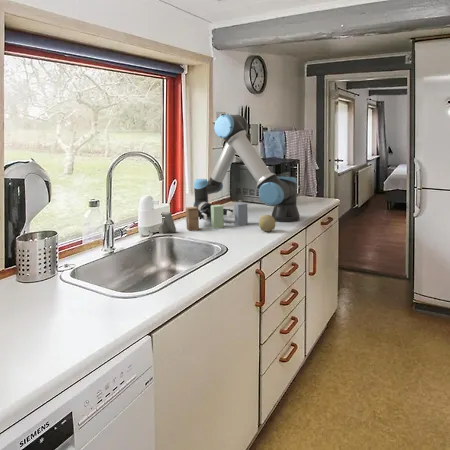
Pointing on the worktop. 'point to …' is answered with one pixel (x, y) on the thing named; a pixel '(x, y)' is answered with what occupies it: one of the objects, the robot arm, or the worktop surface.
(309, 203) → the worktop surface
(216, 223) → the sage green block
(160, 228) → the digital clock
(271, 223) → the potato
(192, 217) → the walnut block
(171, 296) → the worktop surface
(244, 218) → the slate grey block
